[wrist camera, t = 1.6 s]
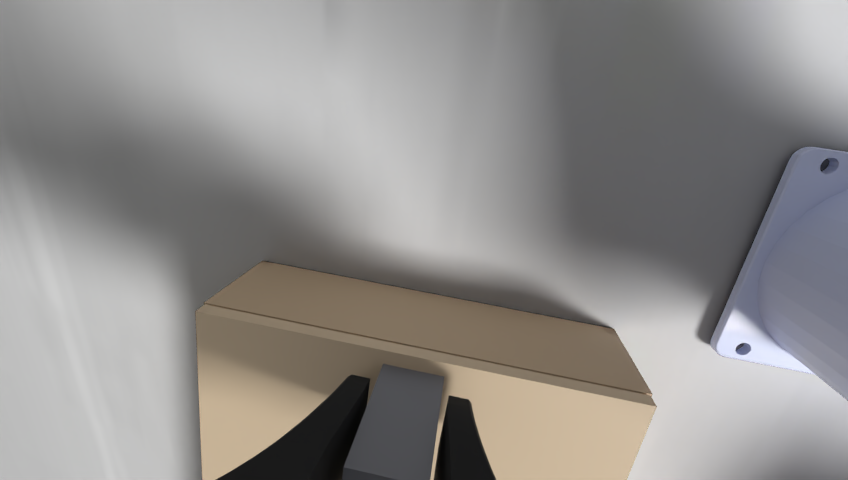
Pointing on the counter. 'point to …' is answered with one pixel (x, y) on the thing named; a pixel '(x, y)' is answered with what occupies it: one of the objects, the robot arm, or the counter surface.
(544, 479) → the sliding lid
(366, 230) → the counter surface
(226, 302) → the carton
